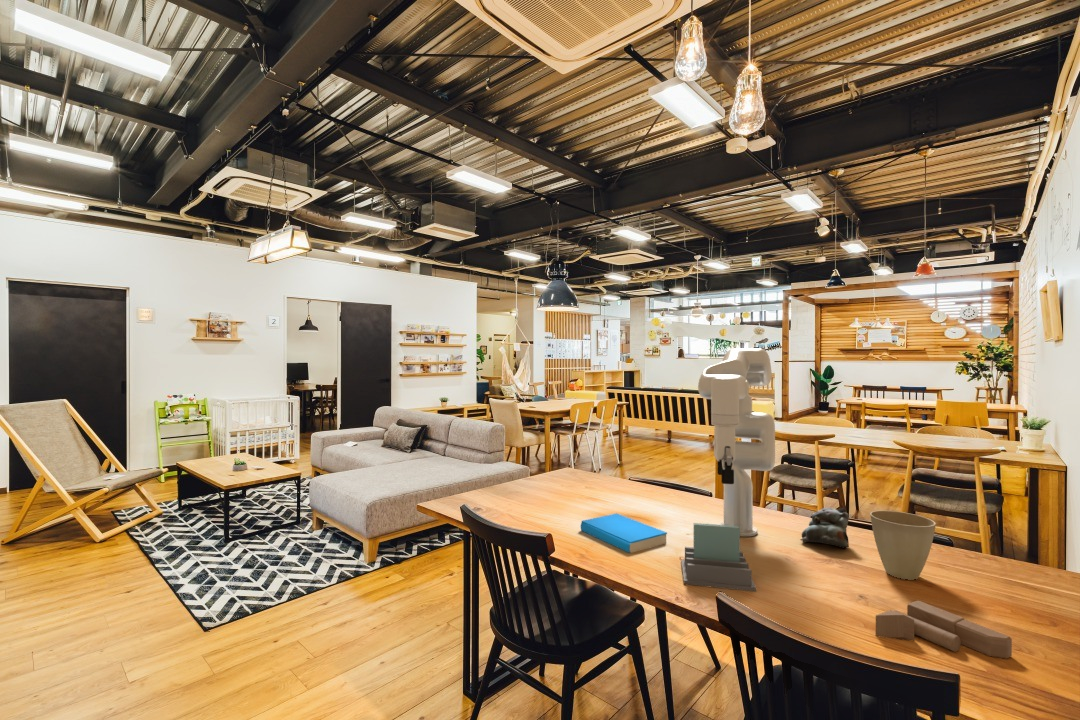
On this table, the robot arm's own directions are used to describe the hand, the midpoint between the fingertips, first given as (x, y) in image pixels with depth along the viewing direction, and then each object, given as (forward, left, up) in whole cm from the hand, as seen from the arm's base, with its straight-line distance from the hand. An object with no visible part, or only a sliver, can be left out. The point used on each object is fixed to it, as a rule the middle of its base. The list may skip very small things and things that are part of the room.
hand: (725, 479), depth 143 cm
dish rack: (+6, -3, -26) cm, 27 cm away
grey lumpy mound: (-29, +34, -26) cm, 52 cm away
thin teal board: (+5, -3, -25) cm, 26 cm away
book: (-20, -31, -27) cm, 45 cm away
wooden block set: (+30, +38, -26) cm, 56 cm away
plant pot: (-7, +48, -26) cm, 55 cm away
